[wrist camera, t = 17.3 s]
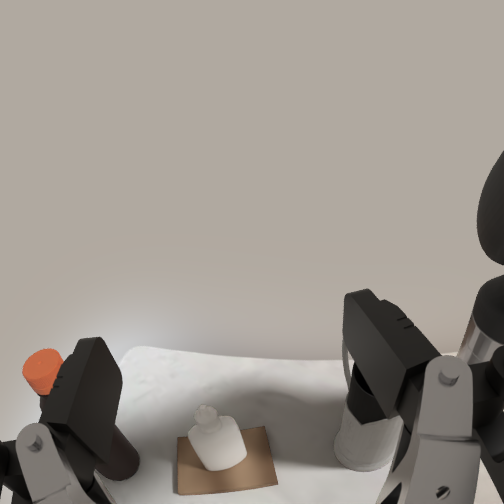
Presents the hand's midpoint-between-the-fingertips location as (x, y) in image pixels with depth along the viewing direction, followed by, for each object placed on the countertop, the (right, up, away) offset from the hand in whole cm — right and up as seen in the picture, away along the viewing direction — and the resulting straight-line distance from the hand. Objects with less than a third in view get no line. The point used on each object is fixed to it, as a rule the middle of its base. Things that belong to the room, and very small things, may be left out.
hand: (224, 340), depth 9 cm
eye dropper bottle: (-2, -23, +21) cm, 32 cm away
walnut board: (-3, -24, +21) cm, 32 cm away
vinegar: (-17, -26, +21) cm, 38 cm away
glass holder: (+15, -21, +23) cm, 35 cm away
